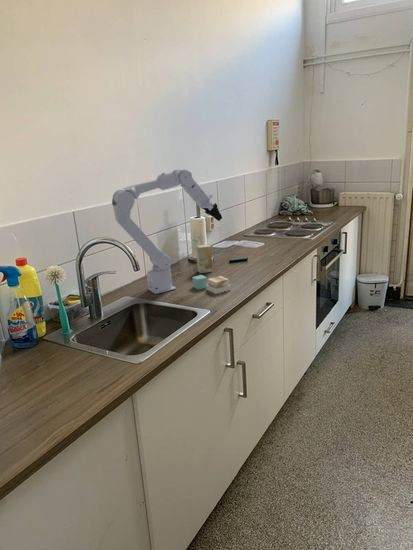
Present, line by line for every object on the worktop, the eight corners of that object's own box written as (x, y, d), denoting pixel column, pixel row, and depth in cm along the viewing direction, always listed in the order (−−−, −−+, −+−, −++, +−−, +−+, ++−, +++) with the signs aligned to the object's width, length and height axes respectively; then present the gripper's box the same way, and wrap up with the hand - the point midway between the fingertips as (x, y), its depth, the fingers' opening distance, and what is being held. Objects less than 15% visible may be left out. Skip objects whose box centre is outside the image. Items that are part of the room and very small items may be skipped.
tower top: (216, 288, 163) (215, 282, 162) (208, 284, 168) (207, 279, 167) (228, 285, 166) (228, 279, 165) (220, 281, 171) (220, 275, 170)
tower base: (215, 295, 163) (215, 289, 162) (206, 290, 169) (206, 284, 168) (230, 291, 166) (230, 285, 165) (221, 286, 172) (221, 281, 171)
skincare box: (199, 273, 190) (197, 247, 187) (197, 271, 194) (195, 245, 191) (213, 271, 192) (211, 245, 188) (210, 269, 196) (209, 244, 192)
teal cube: (198, 289, 169) (197, 279, 168) (193, 287, 173) (192, 277, 172) (207, 287, 171) (206, 277, 170) (202, 284, 175) (201, 274, 174)
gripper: (209, 190, 162) (230, 214, 168) (199, 183, 175) (219, 206, 181) (196, 203, 162) (217, 226, 169) (187, 194, 175) (207, 217, 181)
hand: (217, 216), depth 175 cm, fingers open, 7 cm apart
